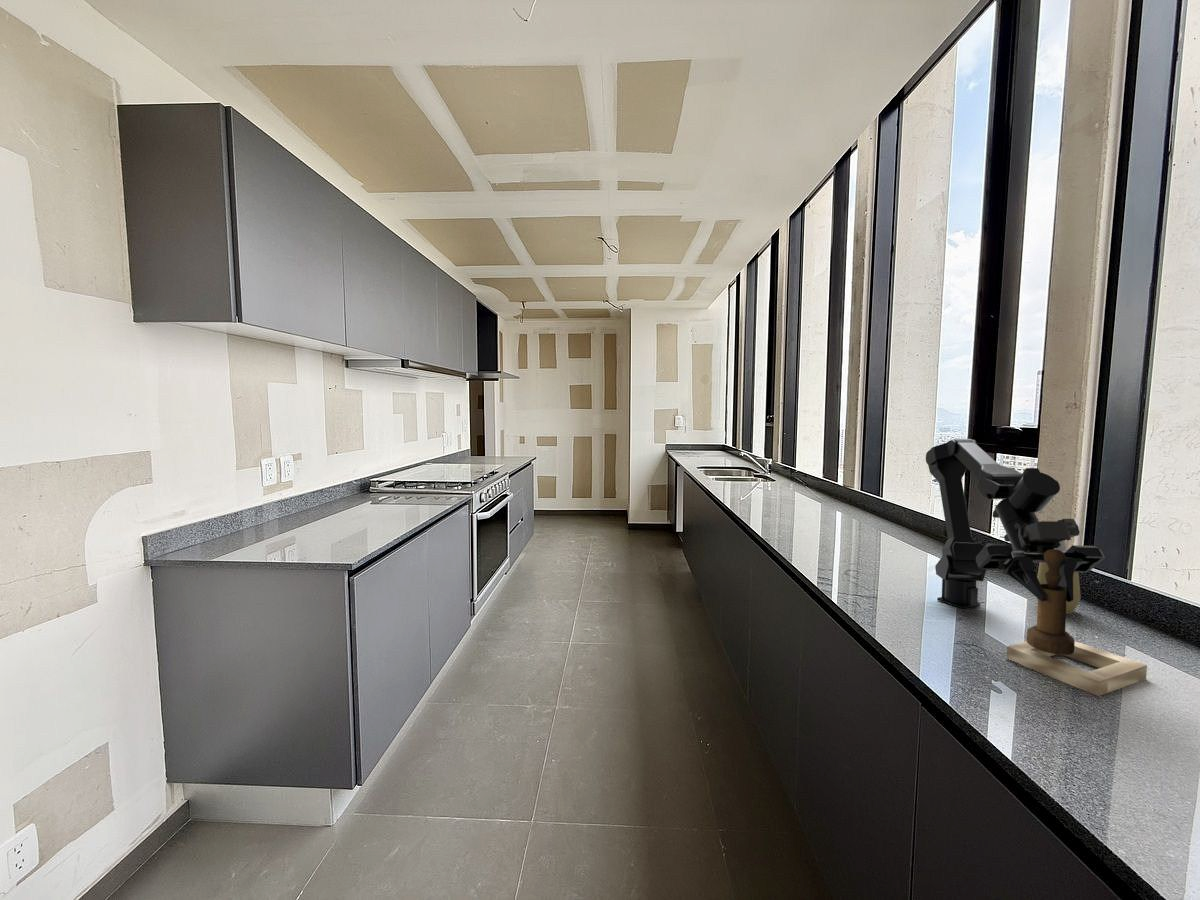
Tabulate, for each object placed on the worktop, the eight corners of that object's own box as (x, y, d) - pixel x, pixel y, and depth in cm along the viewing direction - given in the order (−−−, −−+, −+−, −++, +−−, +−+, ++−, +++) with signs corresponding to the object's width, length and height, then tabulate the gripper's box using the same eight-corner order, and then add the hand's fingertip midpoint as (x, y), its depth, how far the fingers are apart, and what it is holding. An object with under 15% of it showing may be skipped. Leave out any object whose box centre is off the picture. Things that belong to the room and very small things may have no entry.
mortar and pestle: (1018, 642, 97) (1022, 547, 95) (1039, 636, 99) (1044, 543, 98) (1060, 658, 91) (1066, 556, 89) (1082, 651, 93) (1088, 552, 91)
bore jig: (1006, 659, 99) (1006, 646, 99) (1052, 645, 104) (1053, 633, 104) (1098, 696, 86) (1099, 681, 86) (1146, 679, 91) (1146, 665, 91)
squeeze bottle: (1070, 619, 117) (1073, 540, 115) (1027, 607, 124) (1030, 533, 122) (1086, 612, 120) (1090, 535, 119) (1044, 601, 127) (1047, 528, 126)
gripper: (986, 501, 98) (1019, 578, 88) (1100, 502, 95) (1148, 582, 85) (963, 532, 107) (991, 605, 97) (1067, 534, 103) (1107, 610, 93)
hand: (1057, 600), depth 93 cm, fingers closed on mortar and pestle, 4 cm apart
